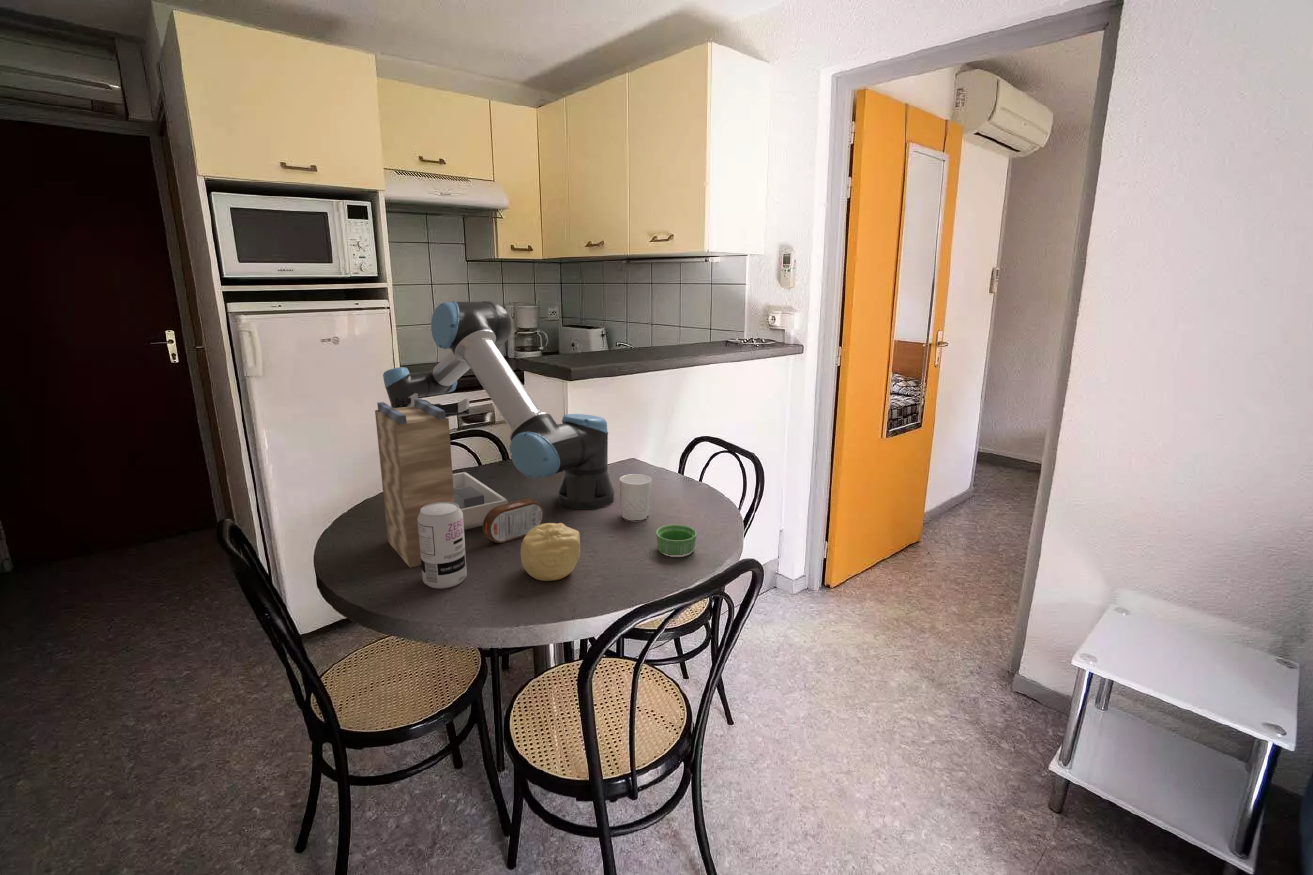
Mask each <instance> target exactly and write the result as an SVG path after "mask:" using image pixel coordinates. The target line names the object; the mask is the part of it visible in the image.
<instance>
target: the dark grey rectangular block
mask: <svg viewBox="0 0 1313 875" xmlns="http://www.w3.org/2000/svg"><path fill="white" fill-rule="evenodd" d="M453 488H454V487H453ZM454 503H456V504H458V505H459V508H460V509H463V508H468V507H473V506H477V505H482V504H484V495H483V494H481V493H480V492H478V491H477V490H475V489H474V488H472V487H466V488H461V489H455V488H454Z"/></svg>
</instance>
